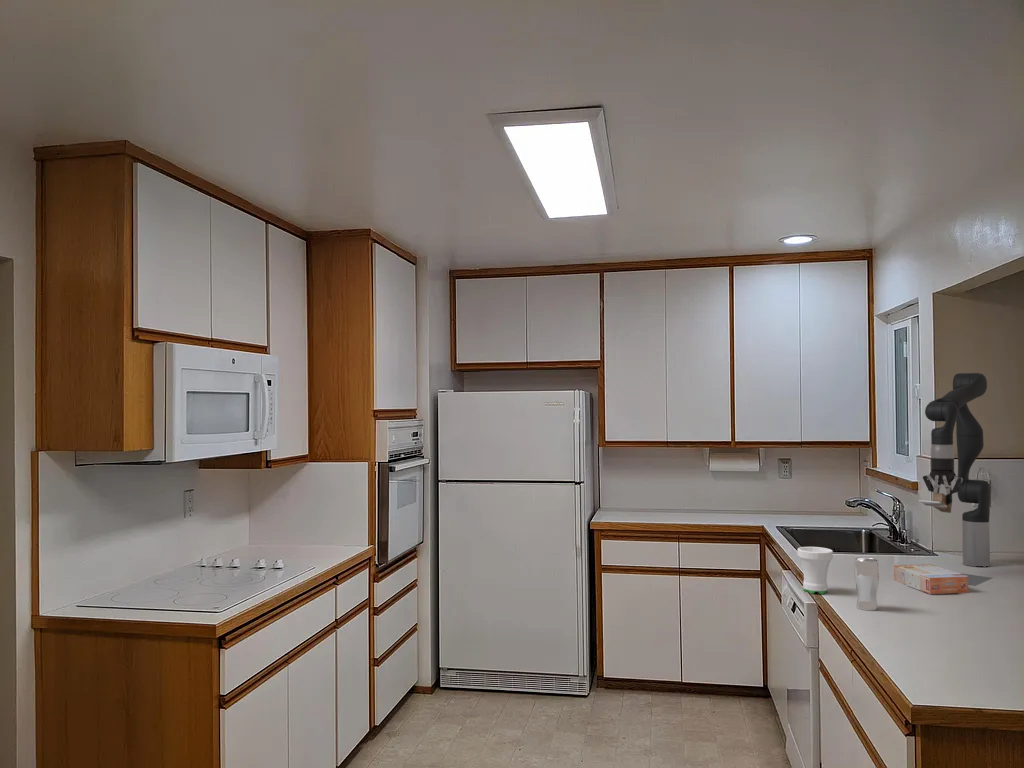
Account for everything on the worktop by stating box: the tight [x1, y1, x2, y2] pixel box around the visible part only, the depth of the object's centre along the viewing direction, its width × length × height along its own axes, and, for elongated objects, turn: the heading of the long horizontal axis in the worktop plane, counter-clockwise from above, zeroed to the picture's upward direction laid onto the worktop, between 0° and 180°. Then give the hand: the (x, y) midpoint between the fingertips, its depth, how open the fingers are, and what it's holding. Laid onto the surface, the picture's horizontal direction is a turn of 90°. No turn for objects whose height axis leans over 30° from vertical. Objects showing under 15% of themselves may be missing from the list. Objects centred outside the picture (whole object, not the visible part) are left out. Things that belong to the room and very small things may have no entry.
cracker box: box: [893, 563, 970, 595], centre depth 278 cm, size 14×6×21 cm
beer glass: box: [854, 557, 880, 612], centre depth 250 cm, size 7×7×15 cm
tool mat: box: [959, 572, 992, 587], centre depth 289 cm, size 19×11×1 cm, turn 134°
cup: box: [797, 546, 834, 595], centre depth 271 cm, size 11×11×14 cm
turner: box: [918, 492, 953, 514], centre depth 293 cm, size 17×7×5 cm, turn 132°
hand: (943, 503), depth 295 cm, fingers closed on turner, 3 cm apart
